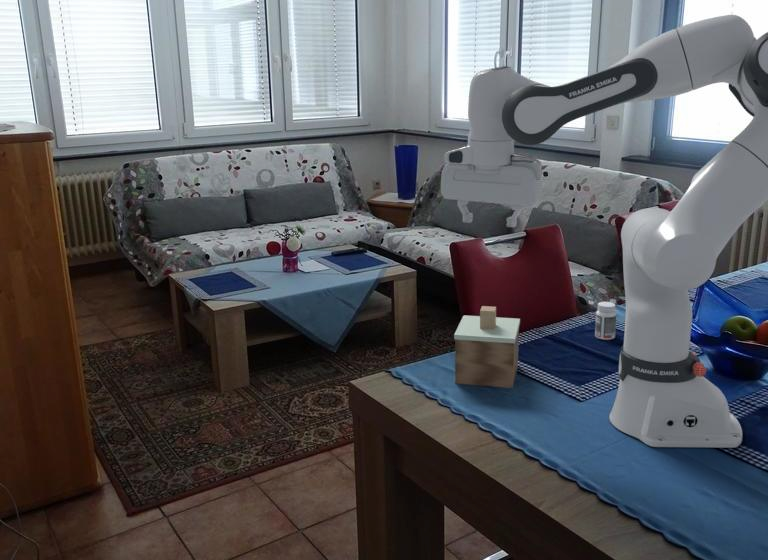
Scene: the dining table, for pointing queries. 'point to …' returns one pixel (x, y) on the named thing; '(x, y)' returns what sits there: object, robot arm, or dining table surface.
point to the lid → (487, 327)
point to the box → (486, 363)
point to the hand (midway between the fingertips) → (489, 224)
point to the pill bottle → (605, 321)
